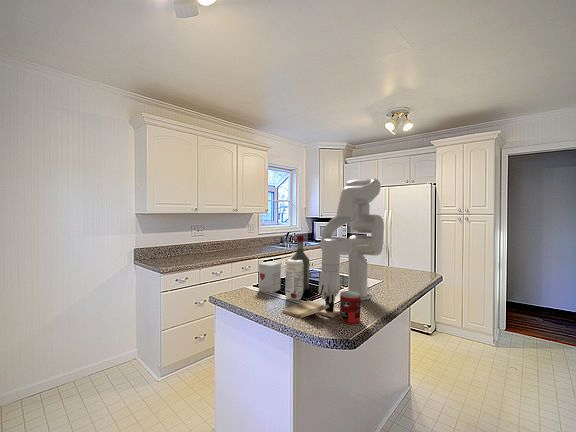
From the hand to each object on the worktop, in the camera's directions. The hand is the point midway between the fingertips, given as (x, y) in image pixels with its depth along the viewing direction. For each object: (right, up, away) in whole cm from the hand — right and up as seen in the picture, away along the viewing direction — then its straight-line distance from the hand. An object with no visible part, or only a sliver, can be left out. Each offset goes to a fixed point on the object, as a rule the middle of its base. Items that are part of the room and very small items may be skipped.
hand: (329, 310), depth 123 cm
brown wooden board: (-11, -1, +5) cm, 12 cm away
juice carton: (-15, -1, +22) cm, 27 cm away
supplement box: (-28, -1, +36) cm, 45 cm away
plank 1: (-7, +1, -5) cm, 8 cm away
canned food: (+7, -2, -7) cm, 10 cm away
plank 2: (0, -1, +1) cm, 2 cm away
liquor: (-11, -1, +41) cm, 42 cm away
